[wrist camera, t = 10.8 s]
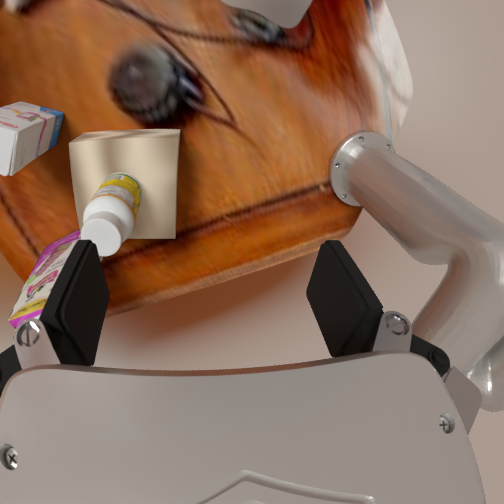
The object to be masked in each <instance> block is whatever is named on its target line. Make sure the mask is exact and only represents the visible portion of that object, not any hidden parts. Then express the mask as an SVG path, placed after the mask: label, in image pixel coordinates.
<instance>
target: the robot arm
mask: <svg viewBox="0 0 504 504" xmlns="http://www.w3.org/2000/svg"><path fill="white" fill-rule="evenodd" d="M329 180H330V184H331V187H332V189H333V192H334V193H335V194H336V195H337V197H338V198H339V199H340V200H342V201H343V202H345V203H346V204H349V205H352V206H362V207H363V208H364V209H365V210H366V211H367V212H368V213H369V214H370V215H371V216H372V217H373V218H374V219H375V220H376V221H377V222H378V223H380V225H381V226H382V227H383V228H384V229H386V231H387V232H388V233H389V234H390V235H391V236H392V237H393V238H394V239H395V240H396V241H397V242H398V243H399V244H400V245H401V246H402V247H403V248H404V249H405V251H406V252H407V253H408V254H409V255H410V256H411V257H412V258H414V259H415V260H417V261H419V262H421V263H424V264H429V265H442V264H448V270H447V272H446V274H445V276H444V277H443V279H442V281H441V283H440V285H439V286H438V288H437V289H436V290H435V292H434V293H433V295H432V296H431V297H430V299H429V300H428V301H427V303H426V304H425V306H424V307H423V308H422V309H421V311H420V312H419V314H418V315H417V316H416V318H415V319H414V321H413V322H412V324H411V323H410V321H409V320H408V319H407V318H406V317H405V316H404V315H402V314H401V313H399V312H396V311H387V312H385V313H384V312H383V310H382V308H383V306H382V304H381V303H380V301H379V299H378V298H377V296H376V294H375V293H374V291H373V290H372V288H371V287H370V285H369V283H368V282H367V280H366V279H365V277H364V276H363V274H362V273H361V271H360V270H359V268H358V267H357V265H356V264H355V262H354V261H353V259H352V258H351V256H350V255H349V254H348V252H347V250H346V249H345V248H344V246H343V245H342V243H341V242H340V241H338V240H327V241H325V243H323V244H321V246H320V250H319V253H318V256H317V259H316V262H315V266H314V269H313V272H312V275H311V278H310V281H309V284H308V287H307V291H306V292H307V293H306V294H307V298H308V301H309V303H310V305H311V308H312V310H313V313H314V315H315V318H316V320H317V322H318V325H319V327H320V330H321V332H322V335H323V337H324V340H325V342H326V345H327V347H328V350H329V352H330V355H331V356H332V357H335V358H329V359H323V360H316V361H309V362H302V363H294V364H285V365H277V366H267V367H254V368H242V369H225V370H224V369H223V370H192V371H191V370H190V371H189V370H188V371H167V370H163V371H162V370H135V369H119V368H104V367H92V366H93V365H94V362H95V357H96V352H97V347H98V342H99V338H100V334H101V329H102V325H103V321H104V317H105V313H106V309H107V306H108V302H109V290H108V287H107V283H106V280H105V276H104V273H103V269H102V265H101V262H100V258H99V254H98V250H97V246H96V244H95V243H93V242H92V240H78V241H77V242H76V244H75V245H74V247H73V249H72V251H71V253H70V254H69V256H68V258H67V260H66V262H65V264H64V266H63V268H62V270H61V272H60V274H59V275H58V277H57V279H56V281H55V283H54V285H53V287H52V290H51V292H50V294H49V296H48V298H47V301H46V303H45V305H44V307H43V310H42V312H41V315H40V317H39V320H38V319H34V318H32V319H27V320H25V321H23V322H22V323H21V324H19V326H18V327H17V328H16V330H15V332H14V336H13V340H14V345H12V346H11V347H9V348H8V349H6V350H5V351H4V352H2V353H1V354H0V504H486V501H485V496H484V490H483V486H482V481H481V477H480V473H479V469H478V465H477V462H476V459H475V455H474V452H473V449H472V446H471V443H470V440H469V437H468V434H469V432H470V429H471V427H472V425H473V422H474V420H475V418H476V415H477V413H478V410H479V408H482V409H484V410H487V411H491V412H497V411H502V410H504V223H502V222H500V221H498V220H497V219H495V218H494V217H492V216H491V215H489V214H487V213H486V212H484V211H483V210H481V209H480V208H478V207H477V206H475V205H474V204H472V203H471V202H470V201H468V200H467V199H465V198H464V197H462V196H461V195H459V194H458V193H456V192H455V191H454V190H452V189H451V188H450V187H448V186H447V185H445V184H444V183H442V182H441V181H439V180H438V179H436V178H435V177H433V176H432V175H430V174H429V173H427V172H426V171H424V170H422V169H421V168H419V167H418V166H416V165H414V164H413V163H411V162H409V161H408V160H406V159H404V158H403V157H401V156H399V155H397V154H396V153H395V150H394V148H393V146H392V144H391V143H390V141H389V140H388V139H387V138H385V137H384V136H382V135H380V134H378V133H375V132H372V131H362V132H358V133H355V134H352V135H351V136H349V137H348V138H346V139H345V140H344V141H343V142H342V143H341V144H340V145H339V147H338V148H337V149H336V151H335V153H334V155H333V157H332V160H331V163H330V168H329ZM91 365H92V366H91Z"/></svg>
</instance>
